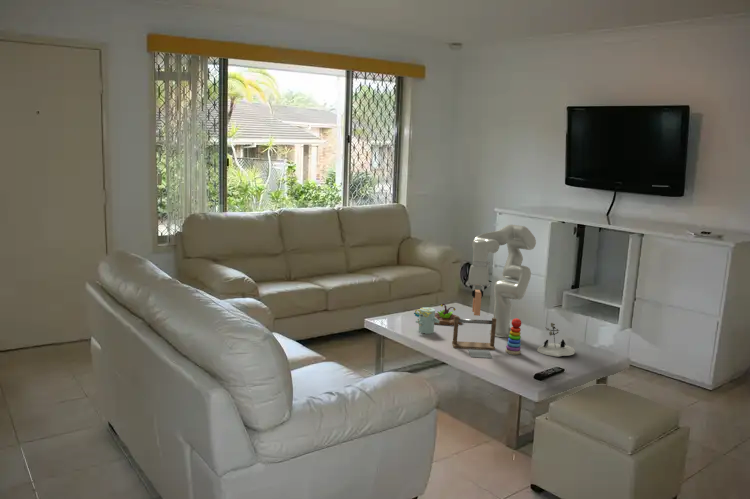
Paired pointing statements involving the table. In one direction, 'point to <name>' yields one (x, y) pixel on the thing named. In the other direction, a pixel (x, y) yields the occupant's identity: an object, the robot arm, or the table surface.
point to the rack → (474, 344)
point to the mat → (480, 353)
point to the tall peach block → (477, 303)
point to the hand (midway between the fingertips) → (477, 297)
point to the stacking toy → (514, 338)
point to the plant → (445, 316)
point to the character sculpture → (426, 320)
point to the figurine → (555, 346)
